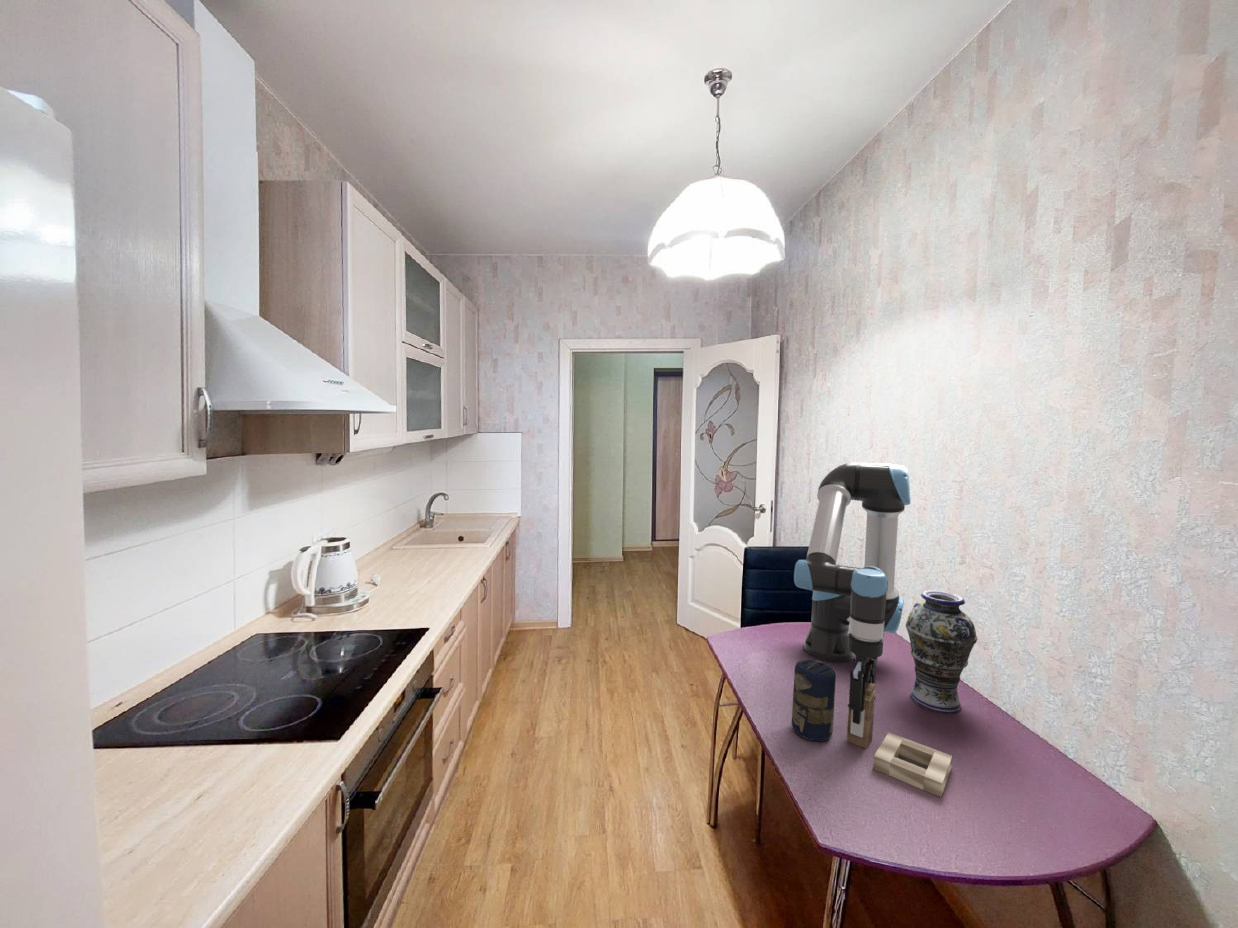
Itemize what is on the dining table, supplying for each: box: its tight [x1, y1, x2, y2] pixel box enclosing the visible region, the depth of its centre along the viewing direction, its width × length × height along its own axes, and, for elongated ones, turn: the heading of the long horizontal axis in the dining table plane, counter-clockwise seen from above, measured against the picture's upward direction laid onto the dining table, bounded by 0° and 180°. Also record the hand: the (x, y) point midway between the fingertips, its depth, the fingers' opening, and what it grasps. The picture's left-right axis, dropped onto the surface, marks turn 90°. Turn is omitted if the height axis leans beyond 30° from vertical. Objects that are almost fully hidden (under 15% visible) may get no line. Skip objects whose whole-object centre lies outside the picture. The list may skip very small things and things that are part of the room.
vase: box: [905, 589, 978, 714], centre depth 143 cm, size 17×17×30 cm
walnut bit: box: [846, 682, 877, 749], centre depth 126 cm, size 5×5×14 cm
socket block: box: [872, 732, 953, 798], centre depth 116 cm, size 12×13×3 cm
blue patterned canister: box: [791, 658, 837, 742], centre depth 128 cm, size 10×10×18 cm
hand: (860, 729), depth 126 cm, fingers closed on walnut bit, 4 cm apart
